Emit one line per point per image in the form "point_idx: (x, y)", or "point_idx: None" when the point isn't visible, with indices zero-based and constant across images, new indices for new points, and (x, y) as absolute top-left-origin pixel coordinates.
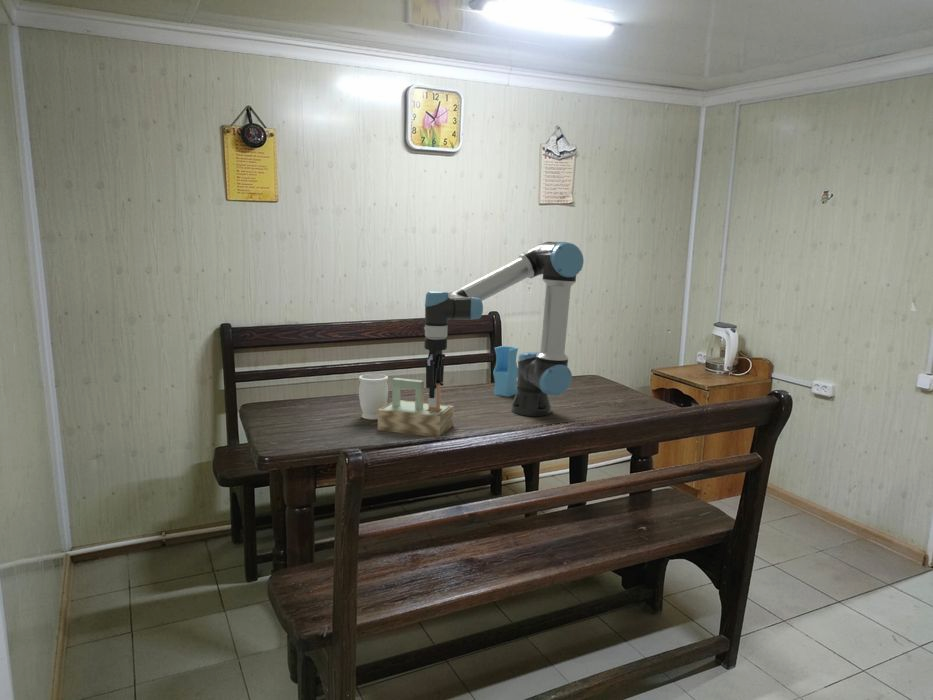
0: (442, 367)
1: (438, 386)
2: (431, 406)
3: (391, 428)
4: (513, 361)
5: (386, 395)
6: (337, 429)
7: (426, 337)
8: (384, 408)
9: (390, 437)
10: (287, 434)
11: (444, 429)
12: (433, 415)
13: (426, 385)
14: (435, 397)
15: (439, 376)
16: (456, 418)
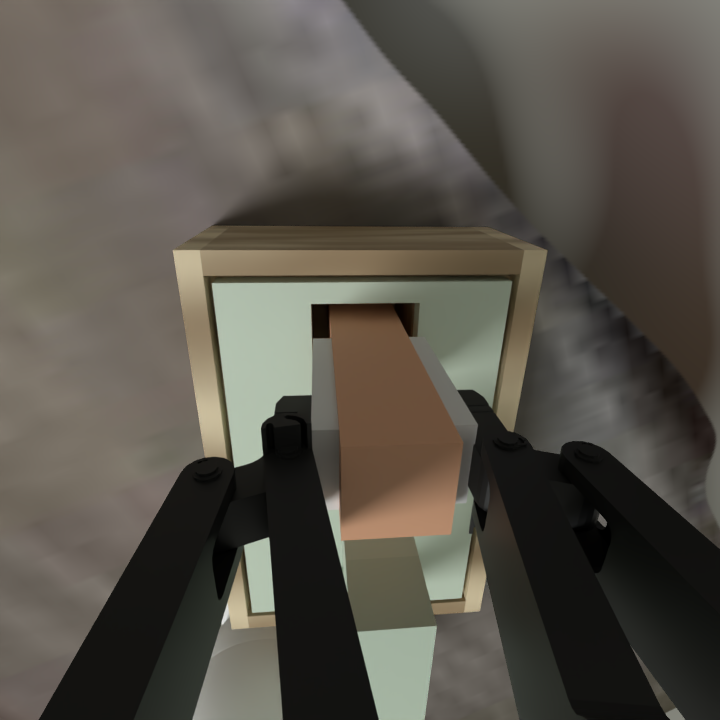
0: (145, 703)
1: (414, 431)
2: None
3: None
4: None
5: (261, 685)
6: (489, 629)
7: None
8: (444, 598)
9: (541, 442)
10: None
11: (390, 229)
12: (515, 305)
13: (595, 529)
14: (446, 380)
15: (331, 542)
16: (47, 254)
